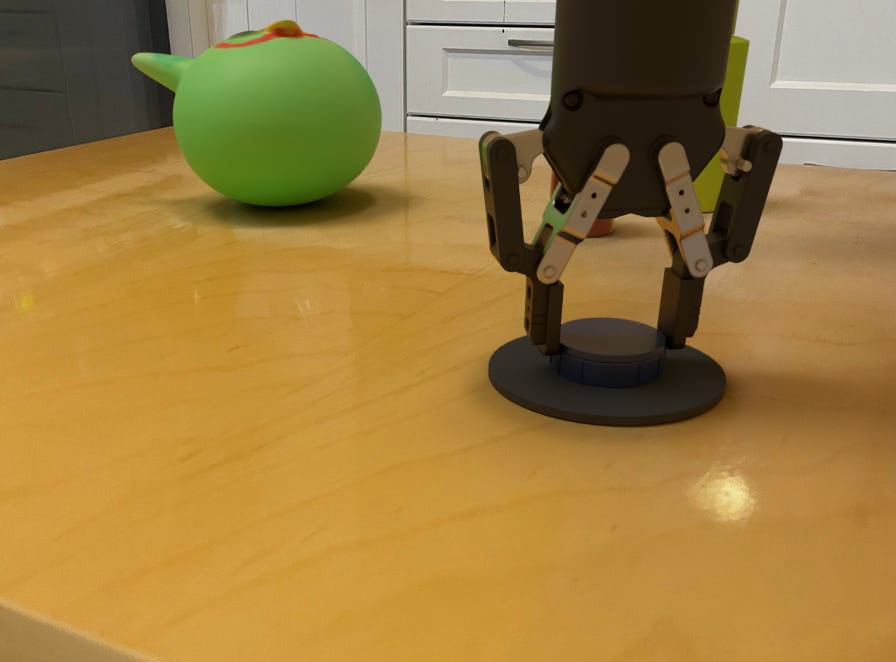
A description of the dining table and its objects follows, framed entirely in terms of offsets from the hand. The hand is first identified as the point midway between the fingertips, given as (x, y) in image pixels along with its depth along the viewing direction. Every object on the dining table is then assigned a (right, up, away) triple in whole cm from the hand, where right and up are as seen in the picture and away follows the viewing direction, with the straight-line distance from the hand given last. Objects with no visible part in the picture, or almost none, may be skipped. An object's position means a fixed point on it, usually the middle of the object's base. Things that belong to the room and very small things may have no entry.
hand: (609, 346), depth 48 cm
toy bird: (-22, +18, +36) cm, 46 cm away
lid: (0, 0, 0) cm, 0 cm away
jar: (+3, +14, +27) cm, 31 cm away
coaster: (0, -1, +1) cm, 2 cm away
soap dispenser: (+15, +18, +35) cm, 42 cm away
